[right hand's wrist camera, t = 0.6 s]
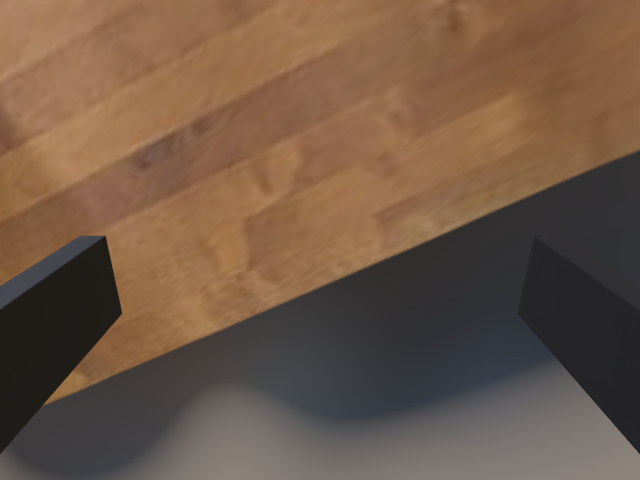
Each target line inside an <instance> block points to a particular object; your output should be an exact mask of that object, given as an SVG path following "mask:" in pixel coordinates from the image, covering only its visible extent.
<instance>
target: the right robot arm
mask: <svg viewBox="0 0 640 480" xmlns="http://www.w3.org/2000/svg"><path fill="white" fill-rule="evenodd" d="M121 314H122V310H121V306H120V301H119V296H118V292H117V287H116V282H115V278H114V273H113V268H112V264H111V259H110V254H109V250H108V245H107V240H106V236H80V237H78V238H76V239H75V240H73V241H72V242H70V243H68V244H67V245H65V246H64V247H62V248H60V249H59V250H57V251H56V252H54V253H52V254H51V255H49V256H48V257H46V258H44V259H43V260H41V261H40V262H38V263H36V264H35V265H33V266H32V267H30V268H29V269H27V270H25V271H24V272H22V273H21V274H19V275H17V276H16V277H14V278H13V279H11V280H9V281H8V282H6V283H5V284H3V285H1V286H0V454H1V453H2V451H3V450H4V449H5V448H6V447H7V446H8V444H9V443H10V442H11V441H12V440H13V439H14V438H15V436H16V435H17V434H18V433H19V432H20V431H21V430H22V428H23V427H24V426H25V425H26V424H27V423H28V421H29V420H30V419H31V418H32V417H33V416H34V415H35V413H36V412H37V411H38V410H39V409H40V408H41V406H42V405H43V404H44V403H45V402H46V401H47V400H48V398H49V397H50V396H51V395H52V394H53V393H54V391H55V390H56V389H57V388H58V387H59V386H60V385H61V383H62V382H63V381H64V380H65V379H66V378H67V377H68V375H69V374H70V373H71V372H72V371H73V370H74V368H75V367H76V366H77V365H78V364H79V363H80V362H81V360H82V359H83V358H84V357H85V356H86V355H87V353H88V352H89V351H90V350H91V349H92V348H93V347H94V345H95V344H96V343H97V342H98V341H99V340H100V339H101V337H102V336H103V335H104V334H105V333H106V332H107V330H108V329H109V328H110V327H111V326H112V325H113V324H114V322H115V321H116V320H117V319H118V318H119V317H120V315H121ZM518 314H519V315H520V317H521V318H522V319H523V320H524V321H525V322H526V324H527V325H528V326H529V327H530V328H531V329H532V330H533V332H534V333H535V334H536V335H537V336H538V337H539V339H540V340H541V341H542V342H543V343H544V344H545V345H546V347H547V348H548V349H549V350H550V351H551V352H552V353H553V355H554V356H555V357H556V358H557V359H558V360H559V362H560V363H561V364H562V365H563V366H564V367H565V368H566V370H567V371H568V372H569V373H570V374H571V375H572V377H573V378H574V379H575V380H576V381H577V382H578V383H579V385H580V386H581V387H582V388H583V389H584V390H585V391H586V393H587V394H588V395H589V396H590V397H591V398H592V400H593V401H594V402H595V403H596V404H597V405H598V406H599V408H600V409H601V410H602V411H603V412H604V413H605V415H606V416H607V417H608V418H609V419H610V420H611V421H612V423H613V424H614V425H615V426H616V427H617V428H618V430H619V431H620V432H621V433H622V434H623V435H624V436H625V438H626V439H627V440H628V441H629V442H630V443H631V444H632V446H633V447H634V448H635V449H636V450H637V451H638V452H639V454H640V286H639V285H637V284H635V283H634V282H632V281H631V280H629V279H627V278H626V277H624V276H623V275H621V274H619V273H618V272H616V271H615V270H613V269H611V268H610V267H608V266H607V265H605V264H604V263H602V262H600V261H599V260H597V259H596V258H594V257H592V256H591V255H589V254H588V253H586V252H584V251H583V250H581V249H580V248H578V247H576V246H575V245H573V244H572V243H570V242H568V241H567V240H565V239H564V238H562V237H560V236H534V240H533V245H532V250H531V254H530V259H529V264H528V268H527V273H526V278H525V283H524V287H523V292H522V296H521V301H520V306H519V310H518Z"/></svg>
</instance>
